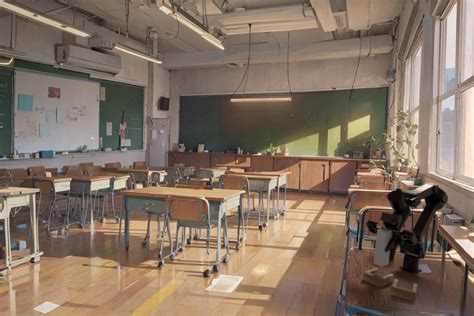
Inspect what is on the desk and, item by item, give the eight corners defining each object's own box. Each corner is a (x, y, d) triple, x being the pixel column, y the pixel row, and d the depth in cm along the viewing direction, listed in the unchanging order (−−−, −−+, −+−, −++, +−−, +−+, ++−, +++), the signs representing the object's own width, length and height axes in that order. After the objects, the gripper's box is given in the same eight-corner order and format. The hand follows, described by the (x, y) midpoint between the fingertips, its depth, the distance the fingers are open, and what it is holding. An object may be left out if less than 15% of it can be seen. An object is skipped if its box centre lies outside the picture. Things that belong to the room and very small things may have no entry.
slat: (379, 261, 150) (383, 228, 149) (388, 264, 148) (392, 231, 146) (373, 263, 147) (377, 230, 146) (382, 266, 145) (385, 232, 143)
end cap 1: (374, 277, 153) (375, 267, 153) (392, 284, 148) (393, 274, 147) (362, 281, 148) (363, 272, 148) (381, 289, 142) (382, 279, 142)
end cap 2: (393, 288, 144) (394, 278, 143) (416, 294, 140) (417, 284, 140) (390, 297, 137) (392, 286, 136) (414, 303, 133) (415, 292, 133)
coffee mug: (398, 262, 173) (401, 240, 172) (378, 259, 174) (380, 237, 173) (392, 253, 184) (394, 232, 183) (373, 250, 185) (375, 230, 184)
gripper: (370, 199, 155) (351, 230, 149) (417, 210, 141) (398, 245, 135) (379, 216, 161) (361, 247, 155) (424, 228, 147) (407, 262, 141)
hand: (380, 249), depth 146 cm, fingers closed on slat, 3 cm apart
